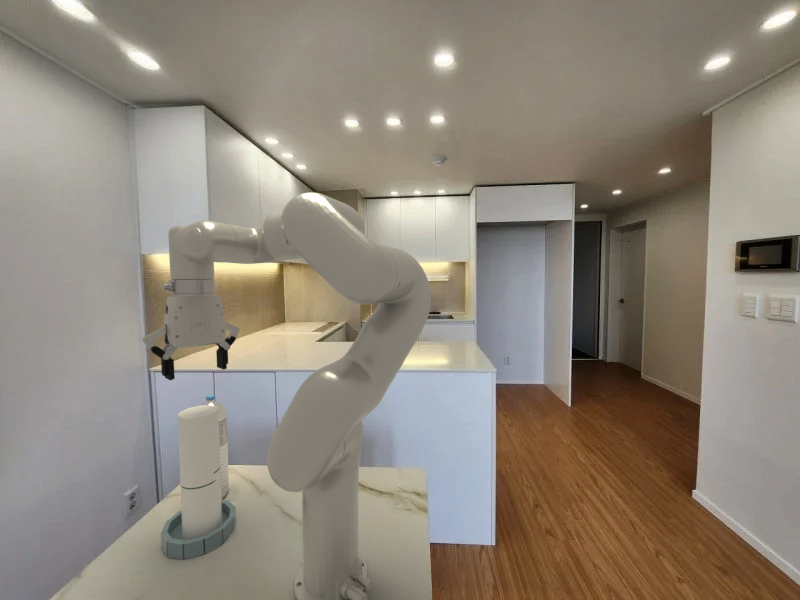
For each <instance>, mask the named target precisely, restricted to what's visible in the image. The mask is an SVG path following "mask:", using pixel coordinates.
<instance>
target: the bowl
mask: <svg viewBox="0 0 800 600" xmlns="http://www.w3.org/2000/svg"><path fill="white" fill-rule="evenodd" d="M221 509H222V525H221V526H220V527H219V528H218V529H216V530H214V531H212V532H210V533H209V534H207V535H205V536H202V537H198V538H194V539H190V540H185V539H184V538H183V536H182V511H181V509H180V510H178V511H177V512H175V514H173V515H172V516H171V517H169V519H167V520H166V522H165V523H164V524H163V528H162V530H161V532H160V541H161V544H160V546H161V550H162V551H163V553H164V555H165V556H166V557H167V558H169V559H175V560H176V559H177V560H188V559H192V558H197V557H199V556H204V554H205V555H207V554H208V553H209V552H211V551H214V549H217V548H218V547H221V546H222V545H223V544H224V543H225V542H226V541H227V540H228V539H229V538H230V537H231V535H232V534H233V533H234V531H236V530H235V528H236V521H237V518H236V516H237V515H236V513H237V512H236V509H237V508H236V506H235V505H234V504H233V502H231V501H229V500H228V499H221Z"/></svg>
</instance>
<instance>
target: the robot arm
mask: <svg viewBox="0 0 800 600" xmlns="http://www.w3.org/2000/svg"><path fill="white" fill-rule="evenodd" d="M365 233H366V228H365V224H364V221H363V218H362V216H361V214H360V213H359V212H358V211H357V210H356V209H355V208H353V207H352V206H350V205H349V204H346V203H345V202H342V201H340V200H338V199H335V198H333V197H330V196H328V195H325V194H322V193H319V192H314V191H313V192H311V191H310V192H309V191H308V192H304V193H303V192H302V193H300V194H298V195H296V196H294V197H292V198H291V199H290V200H289V201H288V202H287V203H286V205H285V206H284V208H283V210H276V211H275V210H274V211H272V212H270V213H268V215H267V216H266V217H265V219H264V221H263V223H262V226H260V227H259V226H258V227H247V226H242V225H235V224H232V223H225V222H218V221H214V220H199V221H195V222H193V223H191V224H187V225H186V224H184V225H183V224H181V225H174V226H172V227H170V229H169V230H168V257H169V275H170V280H169V279H168V280H169V282H166V283H162V284H161V289H162V291H167V292H169V294H170V296H167V298H166V302H165V309H164V318H163V326H161V327H160V328H158V329H157V330H155V331H153V332H150V333H149V334H147V335H145V336H144V337H143V338H142V339H141V341H142V342H143V343H144V345H145V346H146V347H147V349H148V350H149V352H150V353H152V354H154V355H155V356H157V357H158V358H160V366H161V375H162V376H163V377H164V378H165V379H166V380H169V381H173V380H175V376H176V375H175V362H174V361H175V360H174V358H172V356H173V355H174V354H175V352H176V351H177V349H189V348H194V347H202V346H208V345H209V346H211V345H215V346H217V347H218V349H217V348H216V350H215V351H216V354H215V355H216V368H218V369H221V370H223V371H224V370H227V368H228V366H227V364H229V350H230V349H231V346H232V345H233V344H234V343H235V342H236V340H237V337H238V334H240V333H239V332H240V330H241V329H240V327H238V326H235V325H233V324H231V323H228V322H226V320H225V319H226V318H225V312H224V308H223V304H222V299H221V296H220V295H219V294H217V295H216V284H215V283H216V282H215V263H227V264H242V265H252V264H253V265H254V264H256V265H257V264H267V263H276V262H284V261H289V260H290V261H291V260H300V259H303V260H304V261H305V262H306V263H307V264H308V265H309V266H310V267H311V268H312V269H313V270H314V271H315V272H316V273H317V274H319V276H320V277H322V279H323V280H325V282H327V283H328V284H329V285H330V286H331V287H332V288H333V289H334V290H335V292H337V293H338V294H340V295H341V296H342V297H343V298H345V299H347V300H349V301H350V302H352V303H355V304H358V305H376V304H377V307H376V308H375V310H373V311H374V312H372V314H371V315H370V316H369V318H368V319H367V320H366V321H365V323H364V324H363V325H362V327H361V329H360V330H359V333H358V334H357V337H356V338H355V340H354V341H353V343H352V344H351V346H350V347H349V349H348V350H347V352H346V353H345V355H343V356H342V357H340V358H339V359H338V360H336V361H334V362H331V363H330V364H327V365H325V366H323V367H321V368H318V369H316V370H315V371H313V373H311V374H310V375H309V376H307V378H306V379H305V380H304V381H303V382H302V384H301V385H300V386H299V388H298V389H297V391H296V392H295V394H294V395H293V398H292V400H291V402H290V403H289V405H288V407H287V409H286V410H285V413H284V414H283V416H282V417H281V420H280V421H279V423H278V425H277V427H276V429H275V431H274V432H273V434H272V436H271V439H270V442H269V445H268V447H267V452H266V453H267V454H266V465H267V470H268V474H269V476H270V477H271V480H272V481H273V482H274V484H275V485H276V486H278V488H280V489H282V490H284V491H286V492H290V493H291V492H292V493H301V492H302V494H301V495H302V500H301V501H302V558H303V559H302V563H301V564H300V566H299V568H298V569H297V571H296V573H295V576H294V581H293V582H294V583H293V587H294V588H293V590H294V596H295V599H296V600H368V599H369V598H368V594H367V593H365V591H367V592H369V591H370V590H371V589H372V585H373V581H372V580H370V579H369V578H368V566H367V563H366V561H365V559H364V558H363V557H362V555H361V554H359V483H360V481H359V480H360V479H359V475H360V473H359V472H360V462H361V461H360V460H361V454H362V446H363V438H364V430H363V429H364V428H363V420H364V419H365V418H366V417H367V416H368V415H369V414H370V413H372V412H373V410H375V409H376V408H377V407H378V405H380V404H381V401H382V399H383V398H384V396H385V394H386V392H387V391H388V389H389V387H390V386H391V384H392V383H393V381H394V379H395V378H396V375H397V374H398V373H399V371H400V369H401V367H402V366H403V365H404V362H405V360H406V359H407V357H408V355H409V354H410V352H411V350H412V349H413V348H414V345H415V344H416V342H417V341H418V339H419V337H420V335H421V333H422V331H423V329H424V328H425V325H426V323H427V320H428V317H429V315H430V311H431V300H432V296H431V295H432V293H431V285H430V283H429V279H428V277H427V274H426V272H425V271H424V268H423V267H422V266H421V264H420V263H419V261H418V260H417V259H416V258H415V257H414V256H412V255H411V254H410V253H408V252H406V251H405V250H402V249H399V248H396V247H392V246H387V245H383V244H379V243H376V242H374V241H373V240H372V239H371V238H370V237H368V236H367V235H366V234H365ZM227 331H228V332H229V334H228V336H227ZM161 337H163V339H164V340H163V341H164V344H165V345H164V346H163V347H162V348H160V347H159V346H158V345H157V342H156V341H157V340H158V339H160V338H161Z"/></svg>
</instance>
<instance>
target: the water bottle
mask: <svg viewBox="0 0 800 600" xmlns="http://www.w3.org/2000/svg"><path fill="white" fill-rule="evenodd" d="M205 399H206V400H205V401H206V402H205V403H204V404H202V405H214V406H217V407H218V409H219V443H220V476H221V500H223V499H224V498H225V497H226V496H227V495H228V492H229V488H230V487H229V484H230V483H229V482H230V481H229V479H230V477H229V448H228V447H229V444H228V443H229V442H228V430H227V429H228V428H227V426H228V425H227V416H228V414H227V413H228V411H227V409H226V407H225V406H224V405H223V404H221V403H220V402H218V401H216V395H215V394H208V395H206V396H205Z"/></svg>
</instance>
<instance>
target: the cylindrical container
mask: <svg viewBox="0 0 800 600" xmlns="http://www.w3.org/2000/svg"><path fill="white" fill-rule="evenodd" d="M177 423H178V424H177V425H178V426H177V427H178V452H179V453H178V455H179V478H180V503H181V504H180V508H181V509H180V510H181V511H182V536H183V538H184V539H185V540H190V539H194V538H198V537H202V536H205V535H207V534H209V533H210V532H212V531H214V530H216V529H218V528H219V527H220V526H221V525H222V509H221V500H222V499H221V476H220V443H219V409H218V407H217V406H214V405H203V404H202V405H196V406H191V407H188V408H186V409H184V410H181V411H180V412H178V414H177Z"/></svg>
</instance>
